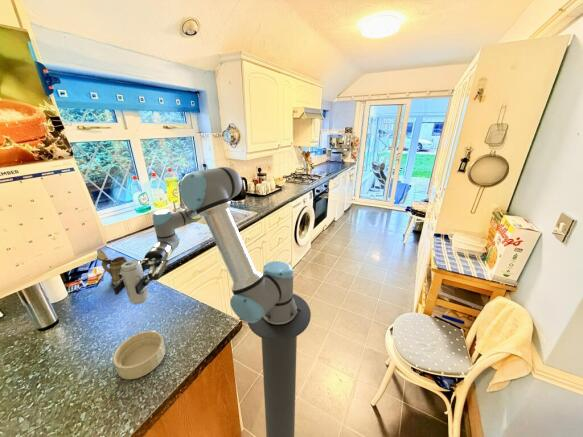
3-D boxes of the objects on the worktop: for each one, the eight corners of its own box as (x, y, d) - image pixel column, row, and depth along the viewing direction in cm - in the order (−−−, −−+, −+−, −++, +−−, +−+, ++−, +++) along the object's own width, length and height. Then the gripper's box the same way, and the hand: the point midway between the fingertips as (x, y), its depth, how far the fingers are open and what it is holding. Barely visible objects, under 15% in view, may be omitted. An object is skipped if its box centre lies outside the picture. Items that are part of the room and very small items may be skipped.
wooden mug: (106, 276, 116) (95, 244, 109) (137, 273, 119) (128, 241, 113) (97, 288, 108) (85, 254, 101) (130, 283, 111) (121, 250, 105)
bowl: (171, 340, 82) (168, 328, 80) (157, 377, 70) (153, 364, 68) (130, 345, 80) (126, 333, 78) (108, 384, 68) (103, 371, 66)
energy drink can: (146, 304, 82) (136, 267, 77) (127, 306, 81) (115, 269, 76) (152, 293, 88) (143, 258, 82) (134, 295, 87) (124, 260, 81)
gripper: (183, 261, 100) (158, 298, 79) (136, 263, 99) (98, 301, 77) (180, 246, 97) (154, 280, 76) (132, 247, 96) (92, 282, 75)
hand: (126, 290), depth 77 cm, fingers closed on energy drink can, 6 cm apart
